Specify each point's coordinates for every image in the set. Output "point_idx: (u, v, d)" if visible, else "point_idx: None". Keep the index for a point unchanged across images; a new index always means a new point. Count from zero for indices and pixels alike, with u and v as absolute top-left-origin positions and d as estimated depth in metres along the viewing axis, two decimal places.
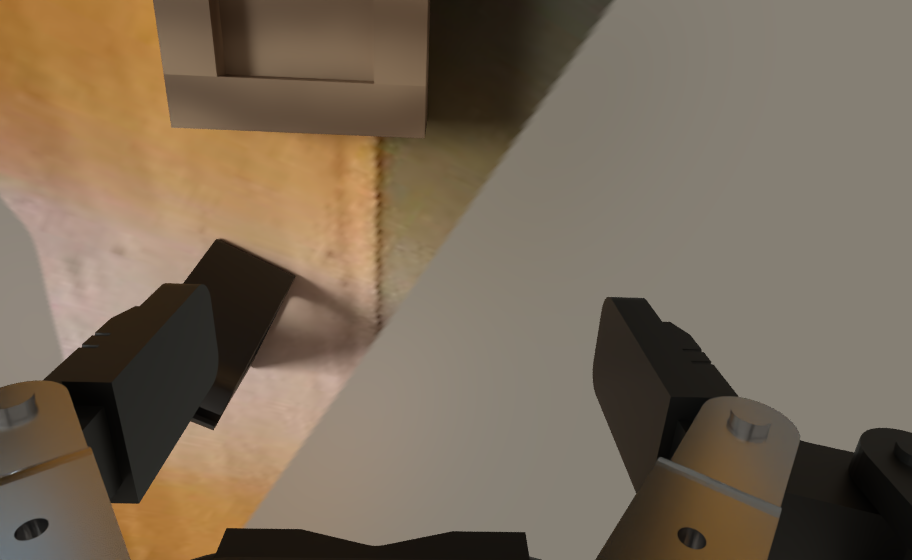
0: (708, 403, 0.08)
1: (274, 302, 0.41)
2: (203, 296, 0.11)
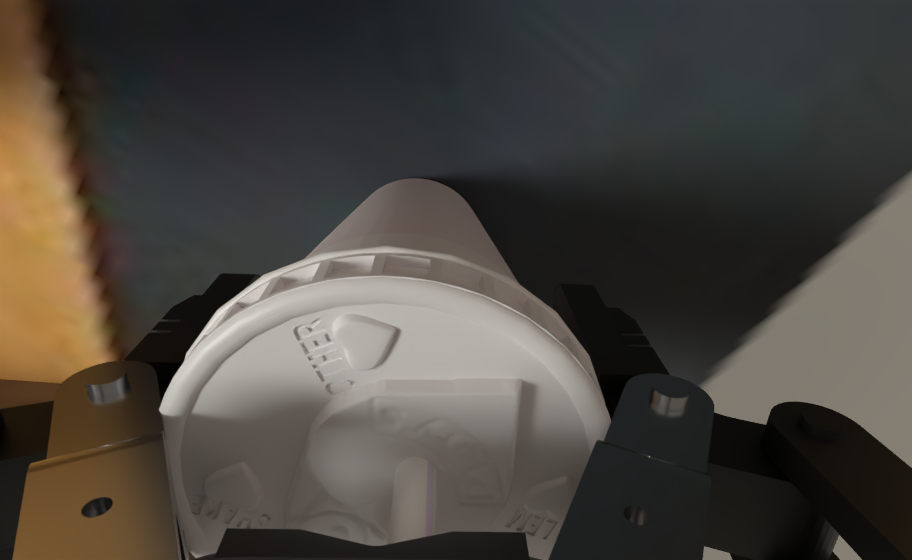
0: (633, 379, 0.09)
1: None
2: None
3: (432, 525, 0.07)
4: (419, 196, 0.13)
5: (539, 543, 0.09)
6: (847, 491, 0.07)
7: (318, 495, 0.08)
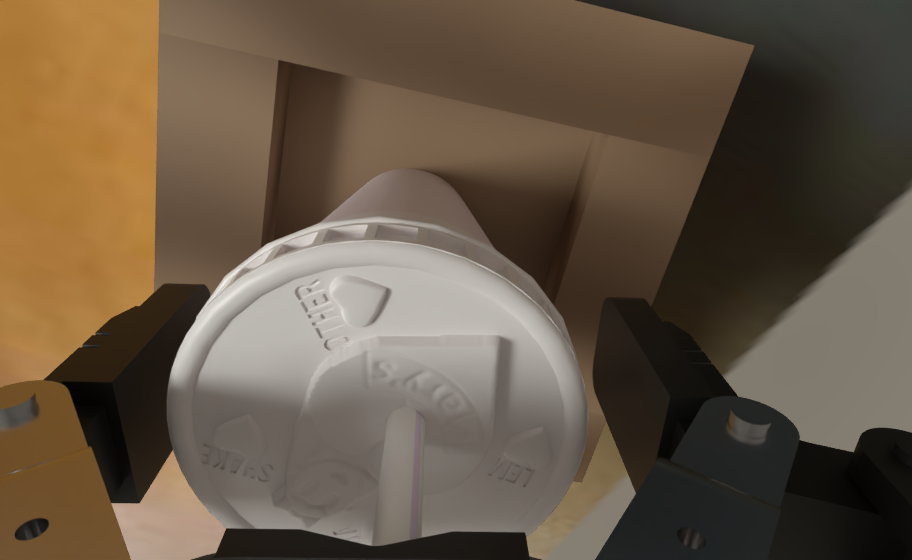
0: (708, 403, 0.08)
1: None
2: (203, 296, 0.11)
3: (419, 462, 0.08)
4: (410, 183, 0.14)
5: (519, 491, 0.09)
6: None
7: (317, 444, 0.09)
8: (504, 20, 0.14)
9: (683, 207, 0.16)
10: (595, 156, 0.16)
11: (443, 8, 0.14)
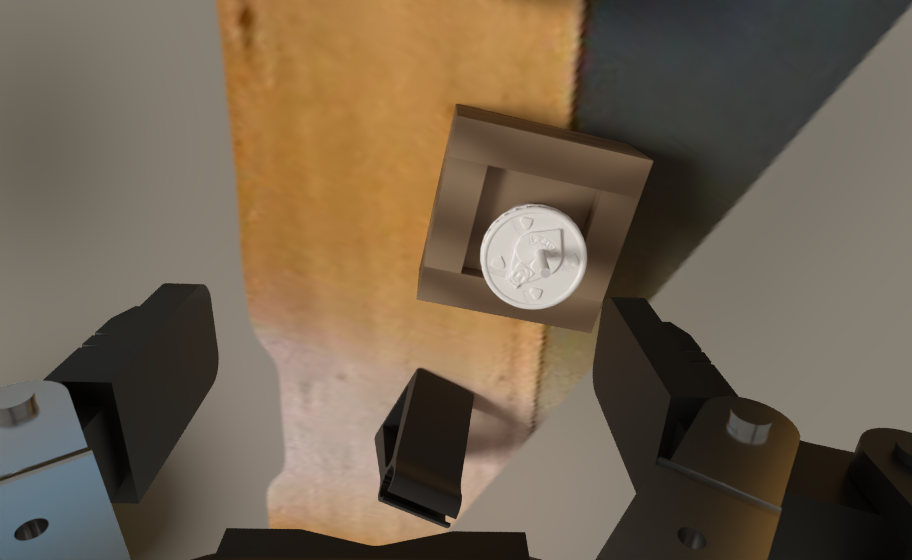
0: (708, 403, 0.08)
1: (466, 419, 0.53)
2: (203, 296, 0.11)
3: (545, 254, 0.34)
4: None
5: (571, 273, 0.35)
6: None
7: (518, 261, 0.35)
8: (566, 152, 0.41)
9: (630, 216, 0.43)
10: (597, 197, 0.43)
11: (546, 148, 0.41)
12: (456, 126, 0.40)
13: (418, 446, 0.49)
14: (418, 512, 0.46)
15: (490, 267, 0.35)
